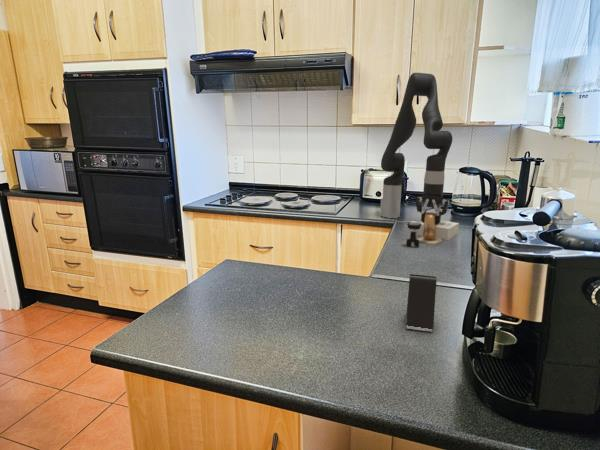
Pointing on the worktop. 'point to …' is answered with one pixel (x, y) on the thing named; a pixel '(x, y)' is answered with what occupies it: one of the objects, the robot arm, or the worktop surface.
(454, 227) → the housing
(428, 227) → the amber cylinder
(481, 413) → the worktop surface
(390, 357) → the worktop surface
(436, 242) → the pad
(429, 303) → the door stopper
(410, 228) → the black stand
